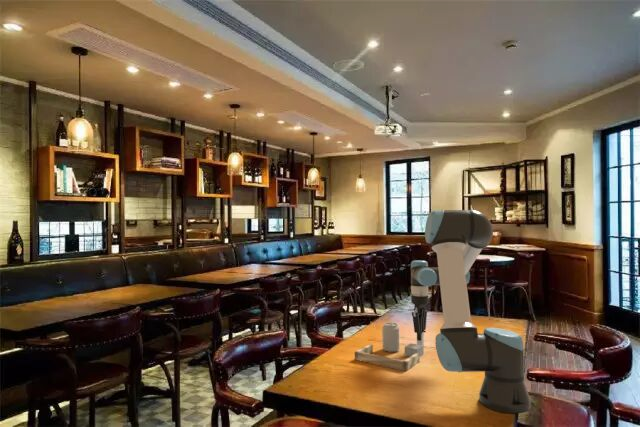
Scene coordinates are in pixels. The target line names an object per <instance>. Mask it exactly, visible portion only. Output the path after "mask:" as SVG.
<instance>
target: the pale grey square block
mask: <svg viewBox="0 0 640 427" xmlns="http://www.w3.org/2000/svg"><path fill="white" fill-rule="evenodd" d="M415 353H418V354H419V358H420V357H421V356H423V355H424V347H423V346H421V345H417V343H409V344H407V345H405V346H404V356H405V357H411V356H412V355H414V354H415Z"/></svg>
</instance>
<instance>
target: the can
mask: <svg viewBox="0 0 640 427" xmlns="http://www.w3.org/2000/svg"><path fill="white" fill-rule="evenodd" d="M381 331H382V349H383V351H385V352H386V351H388V353H396V352H398V351H399V350H400V327H399V326H398V323H397V322H385V323H383V326H382V330H381Z"/></svg>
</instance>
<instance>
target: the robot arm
mask: <svg viewBox="0 0 640 427" xmlns="http://www.w3.org/2000/svg"><path fill="white" fill-rule="evenodd" d="M424 228H425V230H424V238H425V243H427V244H431V250H432V251H433V252H435V253H436V258H437V267H435V266H434V267H429V263H428V261H426V260H419V259H418V260H412V261H411V262H410V285H411V286H410V290H411V294H412V295H411V296H410V297H411V299H410V300H411V301H410V302H411V304H413V305H414V307H413V311H412V312H411V316H412V321H413V331H414V333H415V334H416V345H421V346H423V348H424V347H425V344H424V343H425V339H424V338H425V337H424V336H425V334H424V333H426V332H427V330H426V329H427V319H428V318H427V317H428V310H429V309H428V308H427V307H426V305H428V304H429V287H432V286H439V288H440V298H441V304H442V305H441V306H442V314H443V316H442V317H443V324H442V325H441V326H440V328H439V332H440V333H437V334H436V336H435V344H434V345H435V350H436V355H437V358H438V361H439V363H440V366H442V368H443V369H444V370H445V371H447V372H450V373H452V372H454V373H466V372H467V373H468V372H469V373H472V372H473V373H474V372H475V373H476V372H478V373H481V372H482V373H483V372H484V378H483V381H482V383H481V387H480V389H479V393H478V394H479V398H478V399H479V400H478V401H479V402H480V404H482V405H483V406H484V407H486V408H487V409H490V410H493V411H496V412H499V413H506V414H523V413H526V412H529V411H530V410H531V408H532V407H531V406H532V405H531V403H532V402H531V398H530V395H529V392H528V388H527V386H526V383H525V346H524V339H523V337H522V336H521V335H520V334H518V333H517V332H515V331H512V330H508V329H505V328H499V327H485V328H484V330H483V331H482V332H483V333H478V327H477V326H476V325H474V323H473V322H472V317H471V310H470V309H471V308H470V302H469V301H470V300H469V293H468V287H467V286H468V284H469V283H470V280H471V273H470V269H471V267H472V266H473V264H474V263H475V261H476V260H477V258H478V256H479V255H480V253H481V252H482V250H483V249H486V248H487V247H488V246H489V245H490V243H491V242H492V240H493V236H494V229H493V225H492V222H491V220H490V219H489V218H488V217H487V216H486V215H485V214H484V213H482V212H481V211H478V210H475V209H441V210H432V211H430V212H429V214H428V216H427V218H426V222H425V227H424Z"/></svg>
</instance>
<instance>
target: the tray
mask: <svg viewBox="0 0 640 427" xmlns="http://www.w3.org/2000/svg"><path fill="white" fill-rule="evenodd" d="M373 347H374V345H373V344H367V345H366V346H364V347H361V348H360V349H358V350H355V351H354V360H355V359H356V360H361V361H365V362H364V363H366V362H369V363H368V364H370V363H374V364H373V365H375V364H378V365H377V366H379V365H382V366H381V367H384V366H386V367H385V368H389V367H390V368H389V369H393V368H394V370H398V371H403V372H408V371H409V370H410V369H412V368H413V367H414V366H416V365H417V364H419V363H420V357H419V354H418V353H415V354H414V355H412V356H411V357H410V356H408V357H407V358H405V360H403V359H398V358H394V357H387V356H383V355H380V354H379V355H377V354H374V353H372V352H374V350H373ZM370 353H372V354H370ZM356 360H355V361H356ZM361 361H360V362H361Z"/></svg>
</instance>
